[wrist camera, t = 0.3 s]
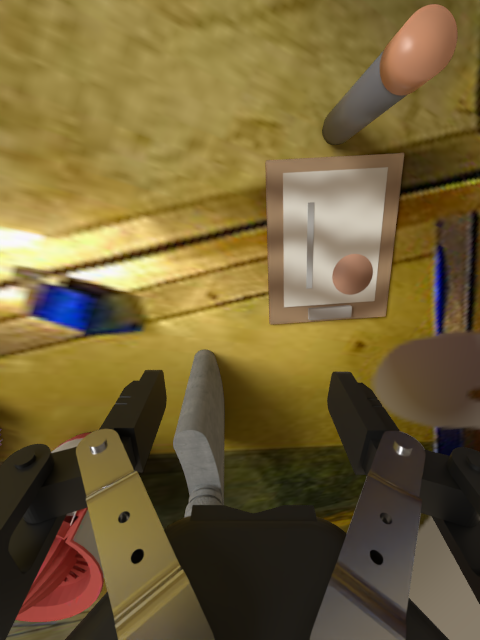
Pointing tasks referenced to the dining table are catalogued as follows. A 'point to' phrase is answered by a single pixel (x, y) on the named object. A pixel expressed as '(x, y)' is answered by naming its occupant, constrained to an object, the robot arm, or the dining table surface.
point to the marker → (395, 72)
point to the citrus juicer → (66, 568)
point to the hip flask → (202, 433)
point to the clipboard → (331, 236)
